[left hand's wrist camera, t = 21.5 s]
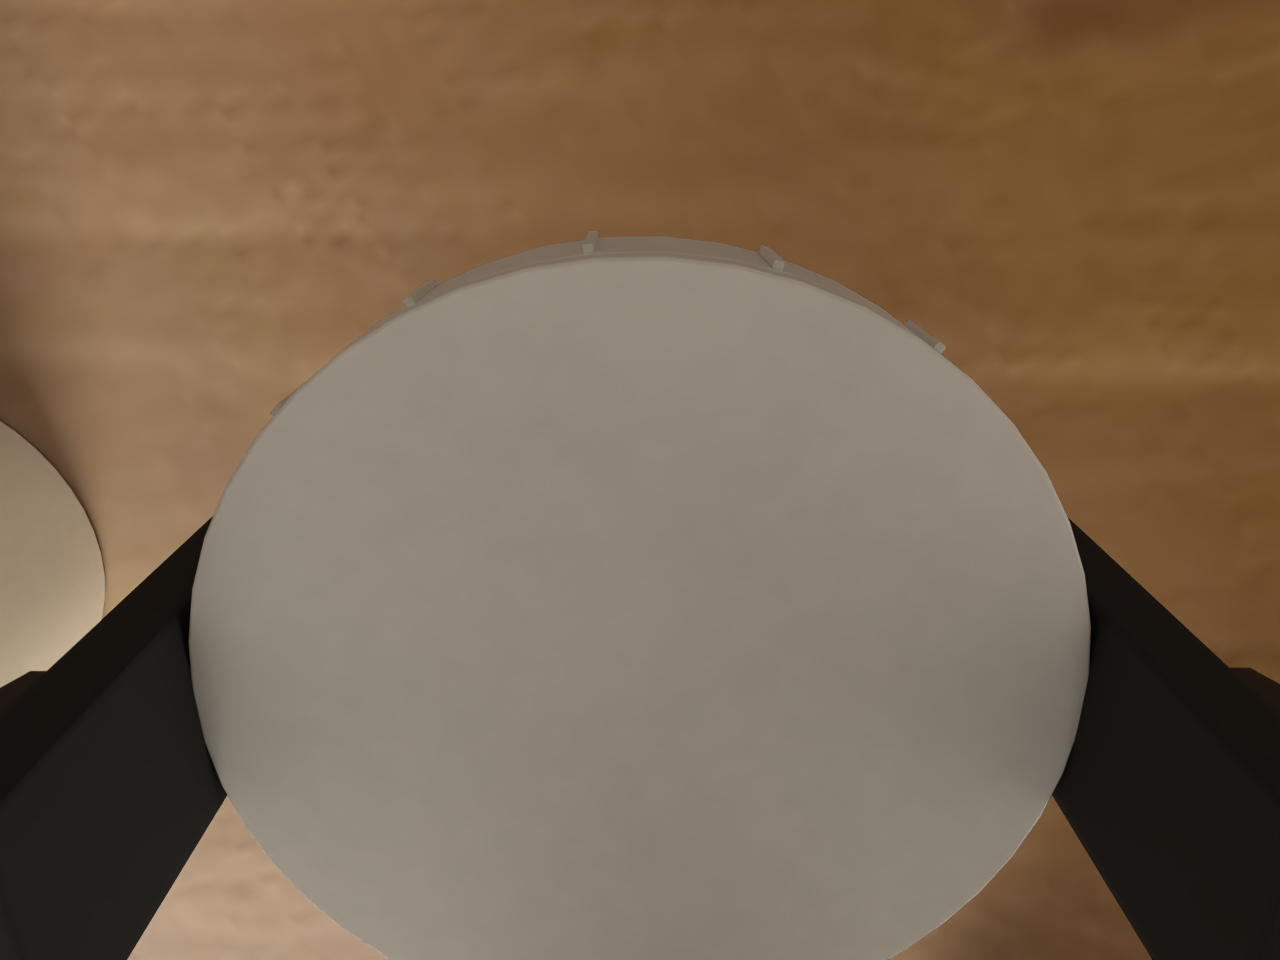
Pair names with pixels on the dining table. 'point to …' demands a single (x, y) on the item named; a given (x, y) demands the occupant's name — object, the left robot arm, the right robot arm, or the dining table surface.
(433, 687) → the lid
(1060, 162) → the dining table surface
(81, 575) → the jar
